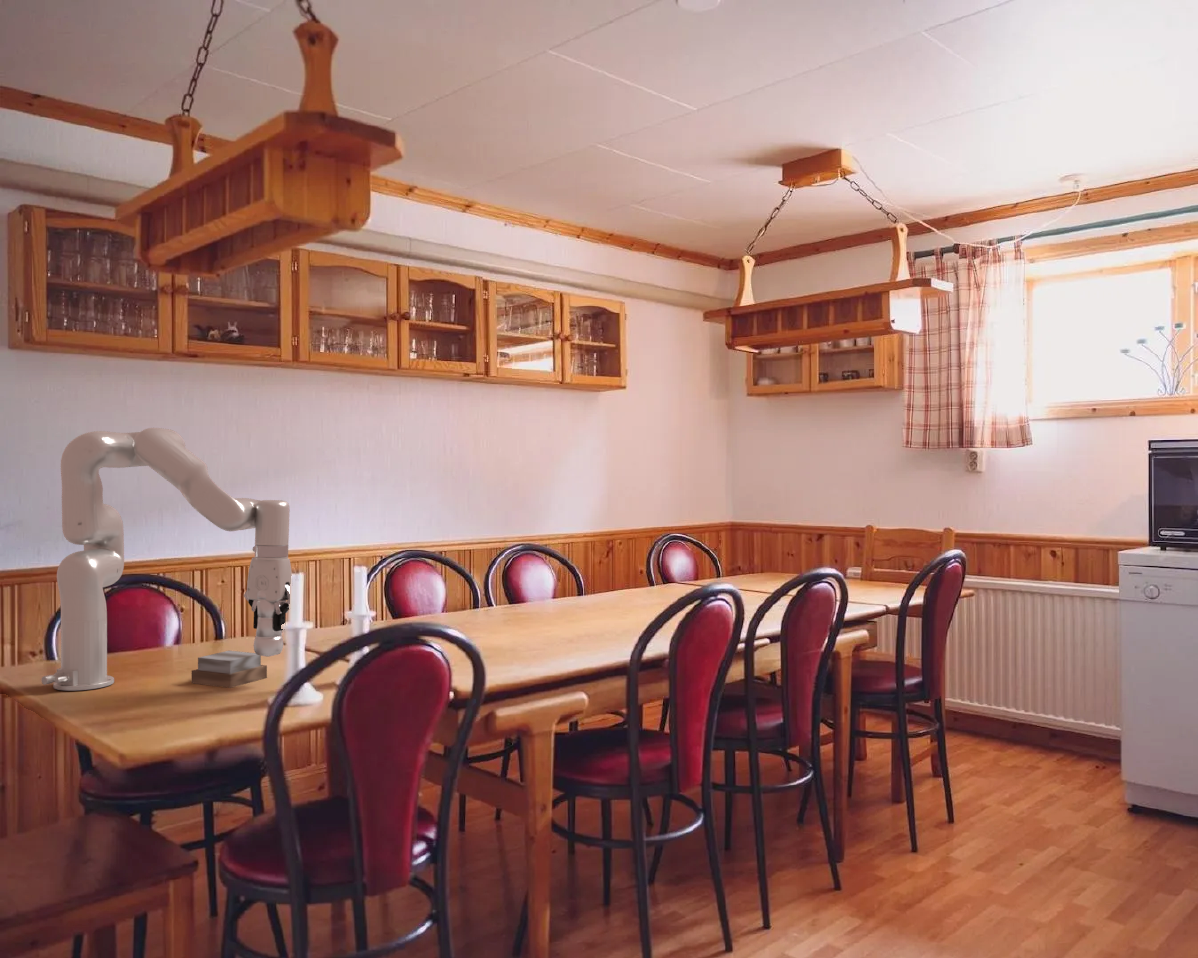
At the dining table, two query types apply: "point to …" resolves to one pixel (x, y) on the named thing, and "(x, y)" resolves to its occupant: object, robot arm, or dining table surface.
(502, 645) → the dining table surface
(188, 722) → the dining table surface
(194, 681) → the plinth
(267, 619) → the plastic bottle
